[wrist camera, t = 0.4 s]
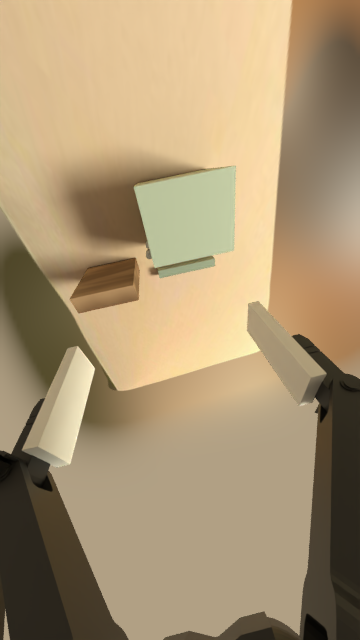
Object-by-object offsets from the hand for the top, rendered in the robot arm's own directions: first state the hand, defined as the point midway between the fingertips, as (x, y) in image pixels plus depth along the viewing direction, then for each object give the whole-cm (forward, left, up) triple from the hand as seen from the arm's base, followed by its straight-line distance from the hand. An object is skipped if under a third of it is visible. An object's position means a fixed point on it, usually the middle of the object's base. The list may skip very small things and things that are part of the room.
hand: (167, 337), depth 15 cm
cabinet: (-2, +5, -25) cm, 25 cm away
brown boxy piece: (+3, -8, -25) cm, 26 cm away
